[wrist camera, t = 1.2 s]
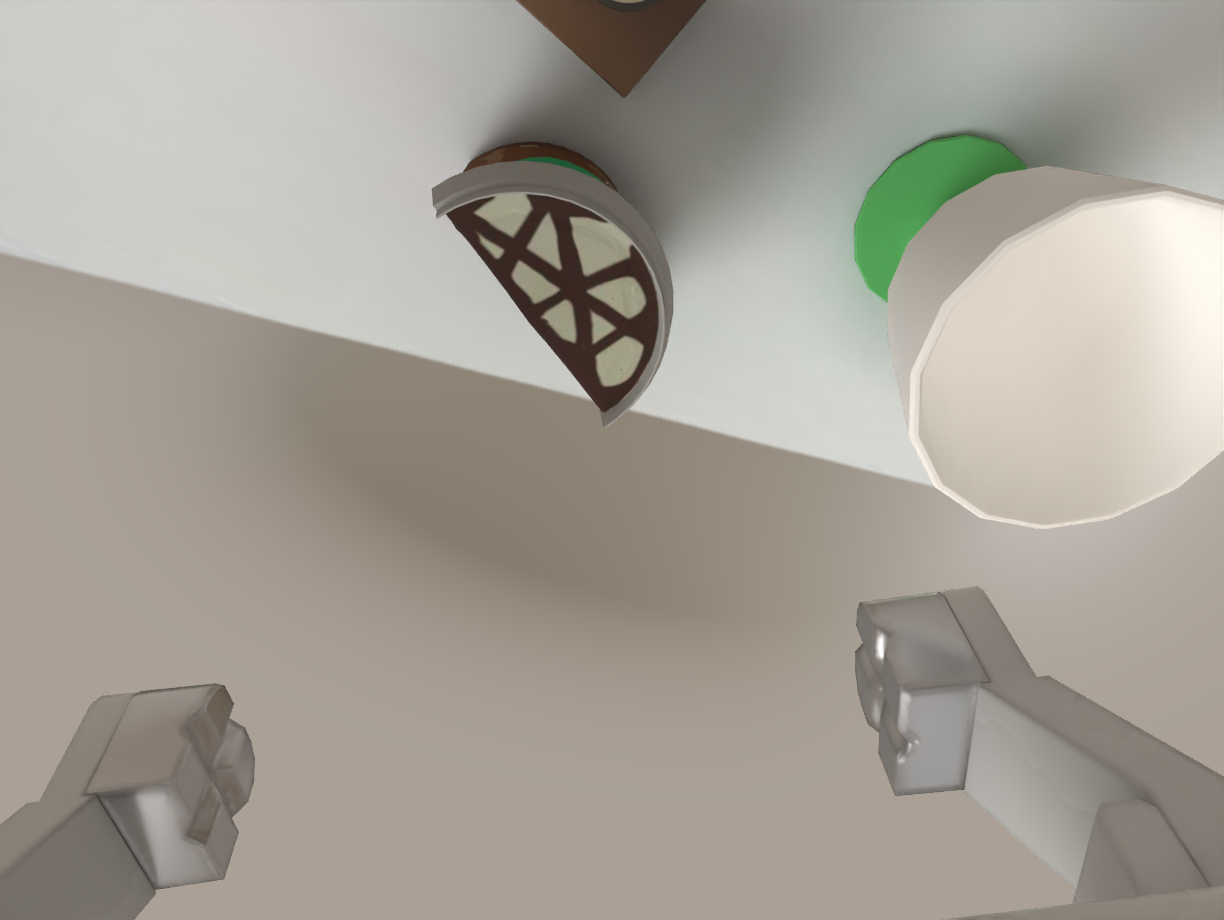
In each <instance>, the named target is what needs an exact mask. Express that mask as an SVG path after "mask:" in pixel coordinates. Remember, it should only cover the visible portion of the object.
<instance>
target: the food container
mask: <svg viewBox="0 0 1224 920" xmlns="http://www.w3.org/2000/svg"><path fill="white" fill-rule="evenodd" d="M432 197H433V206H434V208H435V209H436V210H437V213H436V218H437V219H438V218H439V217H441V216H443V215H445V214H446V215H447V216H448V218H449V219H450V220H451V221H452V223H453V224H454V226H455V228H456V229H457V230H458V231H459V232H460V233H461V234H462V235H463V236H464V237H465V238H466V239H467V241H468V242H469V243H470V244H471V246H472V247H473V248H474V249H475V251H476V252H477V253H478V255H479V256H480V257H481V258H482V260H483V261H484V262H485V264H486V265H487V266H488V268H489V269H490V270H491V272H492V273H493V274H494V276H495V277H496V278H497V279H498V281H499V282H500V283H501V285H502V286H503V287H504V289H505V290H506V291H507V293H508V294H509V296H510V297H511V298H512V300H513V301H514V302H515V304H516V305H517V307H518V308H519V309H520V311H521V312H522V313H523V315H524V316H525V317H526V319H527V320H528V322H529V323H530V324H531V325H532V326H533V328H534V329H535V330H536V331H537V332H538V333H539V335H540V336H541V337H542V338H543V339H544V340H545V342H546V343H547V344H548V345H549V346H550V347H551V349H552V350H553V351H554V352H555V354H556V355H557V356H558V357H559V358H560V360H561V361H562V362H563V363H564V364H565V366H566V367H567V368H568V369H569V371H570V372H571V373H572V374H573V376H574V377H575V378H576V380H577V381H578V382H579V383H580V385H581V386H582V387H583V388H584V390H585V391H586V392H587V393H588V395H589V396H590V397H591V398H592V400H593V401H594V402H595V403H596V405H597V406H598V407H599V408H600V412H601V418H602V423H603V428H604V429H605V428H606V427H608V426H609V425H610V424H612V423H613V422H615V421H616V420H617V419H619V418H620V417H621V416H622V415H623V414H624V413H625V412H626V411H627V410H628V409H630V408H631V407H632V406H633V405H634V403H635V402H636V401H637V400H638V399H639V397H640V396H641V395H642V394H643V392H644V391H645V390H646V388H647V387H648V386H649V385H650V383H651V381H652V379H653V377H654V376H655V374H656V372H657V370H658V368H659V367H660V364H661V361H662V358H663V355H664V352H665V350H666V347H667V342H668V338H669V333H670V327H671V321H672V316H673V286H672V280H671V275H670V269H669V266H668V263H667V260H666V257H665V254H664V252H663V249H662V247H661V245H660V243H659V241H658V239H657V238H656V236H655V234H654V232H653V230H652V229H651V227H650V226H649V224H648V223H647V222H646V221H645V219H644V218H643V217H642V216H641V214H640V213H639V212H638V211H637V209H636V208H634V207H633V206H632V205H631V204H630V203H629V202H628V201H627V200H626V199H624V198H623V197H622V196H621V195H620V194H619V193H618V191H617V189H616V187H615V186H614V184H613V183H612V181H611V180H610V179H609V178H608V176H607V175H606V174H605V173H604V172H603V171H602V170H601V169H600V168H599V167H598V166H596V165H595V164H594V163H593V162H592V161H590V160H588V159H587V158H585V157H584V156H582V155H581V154H579V153H577V152H574V151H572V150H570V149H567V148H565V147H561V146H557V145H553V144H549V143H538V142H526V143H515V144H510V145H506V146H502V147H498V148H496V149H493V150H491V151H489V152H486V153H484V154H482V155H481V156H479V157H477V158H476V159H474V160H473V161H471V162H469V164H468V165H467V167H466V168H465V170H464V171H463V173H460V174H458V175H455V176H453V177H450V178H449V179H447V180H445V181H444V182H442V183H440V184H439V185H437V186H435V187H434V188H432Z"/></svg>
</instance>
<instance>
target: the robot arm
mask: <svg viewBox="0 0 1224 920" xmlns="http://www.w3.org/2000/svg"><path fill="white" fill-rule="evenodd" d="M856 626H857V629H858V632H859V634H860V637H861V639H862V642H863V643H862V645H861V646H860V647H859V648H858V649H857V650H856V651H855V673H856V681H857V689H858V694H859V698H860V702H861V706H862V709H863V712H864V715H865V718H866V720H867V723H868V725H869V726H871V727H872V728H874V729H875V730H877V731H878V732H879V751H878V753H879V755H880V758H881V761H882V763H883V766H884V769H885V771H886V774H887V776H888V779H889V782H890V784H891V787H892V789H893V792H894V795H895V796H902V795H913V794H922V793H933V792H944V791H954V790H964V793H965V794H966V795H967V796H968V797H969V798H971V799H972V800H973V801H974V802H975V803H976V804H978V805H979V806H980V807H981V808H982V809H983V810H985V811H986V812H987V813H988V814H989V815H990V816H991V817H993V818H994V819H995V820H996V821H997V822H998V823H1000V824H1001V825H1002V826H1003V827H1004V828H1005V829H1007V830H1008V831H1009V832H1010V833H1011V834H1012V835H1013V836H1014V837H1016V838H1017V839H1018V840H1019V841H1020V842H1022V843H1023V844H1024V845H1025V846H1026V847H1027V848H1028V849H1029V850H1031V851H1032V852H1033V853H1034V854H1035V855H1036V856H1037V857H1039V858H1040V859H1041V860H1042V861H1043V862H1044V863H1046V864H1047V865H1048V866H1049V867H1050V868H1051V869H1052V870H1054V871H1055V872H1056V873H1057V874H1058V875H1059V876H1061V877H1062V878H1063V879H1064V880H1065V881H1066V882H1067V883H1069V884H1070V885H1071V886H1072V887H1073V888H1074V889H1075V890H1076V892H1075V896H1074V899H1073V903H1072V904H1067V905H1060V906H1052V907H1043V908H1035V909H1026V910H1018V911H1010V912H1002V913H994V914H986V915H978V916H969V917H961V918H953V919H945V920H1224V777H1223V776H1222V775H1220V774H1218V773H1217V772H1215V771H1213V770H1211V769H1210V768H1208V767H1206V766H1204V765H1203V764H1201V763H1199V762H1197V761H1196V760H1194V759H1192V758H1190V757H1189V756H1187V755H1185V754H1183V753H1182V752H1180V751H1178V750H1176V749H1175V748H1173V747H1171V746H1170V745H1168V744H1166V743H1164V742H1162V741H1161V740H1159V739H1157V738H1156V737H1154V736H1152V735H1150V734H1149V733H1147V732H1145V731H1144V730H1142V729H1140V728H1138V727H1137V726H1135V725H1133V724H1131V723H1130V722H1128V721H1126V720H1124V719H1122V718H1121V717H1119V716H1118V715H1116V714H1114V713H1112V712H1111V711H1109V710H1107V709H1105V708H1104V707H1102V706H1100V705H1098V704H1097V703H1095V702H1093V701H1091V700H1090V699H1088V698H1086V697H1085V696H1083V695H1081V694H1079V693H1078V692H1076V691H1074V690H1072V689H1071V688H1069V687H1067V686H1065V685H1064V684H1062V683H1060V682H1058V681H1057V680H1055V679H1053V678H1052V677H1050V676H1042V677H1036V675H1035V674H1034V672H1033V670H1032V669H1031V667H1030V665H1029V664H1028V662H1027V660H1026V659H1025V657H1024V656H1023V654H1022V652H1021V651H1020V649H1019V647H1018V646H1017V644H1016V643H1015V641H1014V639H1013V637H1012V636H1011V634H1010V632H1009V631H1008V629H1007V627H1006V626H1005V624H1004V622H1003V621H1002V619H1001V618H1000V616H999V614H998V613H997V611H996V609H995V608H994V606H993V604H992V603H991V601H990V599H989V598H988V596H987V595H986V593H985V591H984V590H982V589H981V588H980V587H978V586H973V587H966V588H959V589H953V590H945V591H938V592H937V593H934V592H933V593H926V594H918V595H911V596H904V597H897V598H889V599H881V600H873V601H866V602H860V603H859V607H858V609H857V621H856ZM233 705H234V703H233V701H232V699H231V697H230V695H229V693H228V691H227V690H226V688H225V686H224V685H219V684H207V685H196V686H186V687H177V688H168V689H157V690H147V691H140V692H137V693H127V694H116V695H105V696H101V697H100V698H98V699H97V700H96V701H94V702H93V703H92V704H91V705H90V707H89V709H88V711H87V713H86V715H85V716H84V718H83V720H82V722H81V724H80V726H79V728H78V730H77V731H76V733H75V735H74V737H73V739H72V741H71V743H70V745H69V746H68V748H67V750H66V752H65V754H64V756H63V758H62V760H61V762H60V763H59V765H58V767H57V769H56V771H55V773H54V775H53V776H52V778H51V780H50V782H49V784H48V786H47V788H46V790H45V791H44V793H43V796H42V797H41V799H40V801H39V802H33V803H27V804H26V805H24V806H23V807H22V808H20V809H19V810H18V811H17V812H16V813H14V814H13V815H12V816H11V817H9V818H8V819H7V820H6V821H4V822H3V823H2V824H1V825H0V920H134V919H135V918H136V917H137V916H138V914H139V913H140V912H141V911H142V910H143V909H144V907H145V906H146V905H147V904H148V903H149V901H150V900H151V899H152V898H153V897H154V896H155V894H156V892H155V890H157V889H164V888H170V887H177V886H183V885H190V884H196V883H203V882H210V881H216V880H223V879H224V878H225V875H226V871H227V868H228V865H229V862H230V858H231V855H232V852H233V849H234V846H235V843H236V840H237V836H238V833H239V832H238V830H237V828H236V826H235V824H234V822H233V820H232V817H233V816H234V815H235V814H236V813H237V812H238V811H239V810H240V809H241V808H242V807H243V806H244V805H245V804H246V803H247V802H248V800H249V797H250V793H251V790H252V786H253V783H254V765H255V757H254V752H253V747H252V743H251V740H250V737H249V735H248V733H247V731H246V729H245V728H244V727H243V726H241V725H240V724H238V723H236V722H235V721H233V720H231V719H230V718H229V717H230V714H231V711H232V708H233Z"/></svg>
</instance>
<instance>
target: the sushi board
mask: <svg viewBox="0 0 1224 920" xmlns="http://www.w3.org/2000/svg"><path fill="white" fill-rule="evenodd" d="M516 1H517V2H519V3H520V4H521V5H522V6H523V7H524V8H525V9H526V10H527V11H529V12H530V13H531V14H532V15H533V16H534V17H535V18H536V19H537V20H538V21H540V22H541V23H542V24H543V25H544V26H545V27H546V28H547V29H548V30H549V31H551V32H552V33H553V34H554V35H555V36H556V37H557V38H558V39H559V40H561V41H562V42H563V43H564V44H565V45H566V46H567V47H568V48H569V49H570V50H572V51H573V52H574V53H575V54H576V55H577V56H578V57H579V58H580V59H581V60H583V61H584V62H585V63H586V64H587V65H588V66H589V67H590V68H591V69H593V70H594V71H595V72H596V73H597V74H598V75H599V76H600V77H601V78H602V79H604V80H605V81H606V82H607V83H608V84H609V85H610V86H611V87H612V88H613V89H615V90H616V91H617V92H618V93H619V94H620V95H621V96H622V97H624V98H625V97H626V96H627V95H628V94H629V92H630V91H631V90H632V89H633V88H634V86H635V85H636V84H637V83H638V82H639V80H640V79H641V78H642V77H643V76H644V74H645V73H646V72H647V71H648V70H649V68H650V67H651V66H652V65H653V64H654V62H655V61H656V60H657V59H658V58H659V56H660V55H661V54H662V53H663V52H664V50H665V49H666V48H667V47H668V46H669V44H670V43H671V42H672V41H673V40H674V38H675V37H676V36H677V35H678V34H679V32H680V31H681V30H682V29H683V27H684V26H685V25H686V24H687V23H688V21H689V20H690V19H691V18H692V17H693V15H694V14H695V13H696V12H697V11H698V9H699V8H700V7H701V6H702V5H703V3H704V2H705V1H706V0H516Z"/></svg>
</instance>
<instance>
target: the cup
mask: <svg viewBox="0 0 1224 920" xmlns="http://www.w3.org/2000/svg"><path fill="white" fill-rule="evenodd" d="M855 261H856V263H857V265H858V267H859V269H860V271H861V273H862V276H863V278H864V280H865V282H866V284H867V286H868V288H869V289H870V290H871V291H873V292H874V293H875V294H877V295H878V296H879V297H881V298H882V299H883V300H885V301H886V302H887V303H888V323H887V335H888V340H889V345H890V349H891V354H892V359H893V363H894V368H895V373H896V378H897V382H898V387H899V392H900V397H901V401H902V406H903V411H904V415H905V420H906V425H907V430H908V434H909V437H910V439H911V441H912V443H913V445H914V447H915V449H916V451H917V453H918V455H919V457H920V459H921V461H922V463H923V465H924V467H925V469H926V471H927V473H928V475H929V477H930V479H931V481H932V483H933V485H934V487H936V488H937V489H939V490H940V491H942V492H943V493H945V494H946V495H948V496H949V497H951V498H952V499H953V500H955V501H956V502H958V503H959V504H961V505H962V506H964V507H965V508H967V509H968V510H969V511H971V512H973V513H974V514H975V515H977V516H978V517H980V518H983V519H989V520H994V521H1000V522H1005V523H1010V524H1016V525H1021V526H1028V527H1033V528H1038V529H1047V528H1054V527H1060V526H1067V525H1073V524H1080V523H1087V522H1093V521H1100V520H1106V519H1111V518H1113V517H1116V516H1118V515H1120V514H1122V513H1124V512H1127V511H1129V510H1131V509H1133V508H1135V507H1138V506H1140V505H1142V504H1144V503H1146V502H1149V501H1151V500H1153V499H1155V498H1157V497H1160V496H1162V495H1164V494H1166V493H1168V492H1171V491H1172V490H1175V489H1177V488H1178V487H1179V486H1181V485H1182V484H1183V483H1184V482H1186V481H1187V480H1188V479H1189V478H1190V477H1192V476H1193V475H1194V474H1195V473H1197V472H1198V471H1199V470H1200V469H1201V468H1202V467H1204V466H1205V465H1206V464H1207V463H1209V462H1210V461H1211V460H1212V459H1214V458H1215V457H1216V456H1217V455H1218V454H1220V453H1221V452H1222V451H1223V450H1224V200H1221V199H1217V198H1213V197H1210V196H1206V195H1202V194H1198V193H1194V192H1190V191H1187V190H1183V189H1179V188H1175V187H1171V186H1167V185H1162V184H1156V183H1150V182H1144V181H1138V180H1132V179H1126V178H1120V177H1113V176H1107V175H1101V174H1095V173H1089V172H1083V171H1077V170H1071V169H1065V168H1059V167H1053V166H1043V167H1037V168H1031V169H1027V168H1026V166H1025V165H1024V164H1023V163H1022V162H1021V161H1020V160H1019V159H1018V158H1016V157H1015V156H1014V155H1013V154H1012V153H1011V152H1010V151H1009V150H1008V149H1007V148H1005V147H1004V146H1003V145H1002V144H1001V143H997V142H993V141H990V140H986V139H982V138H978V137H974V136H970V135H961V136H955V137H949V138H943V139H937V140H931V141H928V142H926V143H925V144H923V145H921V146H919V147H918V148H916V149H914V150H912V151H911V152H909V153H907V154H906V155H904V156H902V157H900V158H899V159H897V160H895V161H894V162H893V163H892V164H891V165H890V167H889V168H888V169H887V170H886V171H885V172H884V173H883V175H882V176H881V177H880V178H879V179H878V180H877V182H876V183H875V184H874V185H873V186H872V187H871V188H870V190H869V191H868V193H867V195H866V198H865V201H864V203H863V206H862V208H861V211H860V213H859V216H858V218H857V221H856V223H855Z"/></svg>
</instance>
